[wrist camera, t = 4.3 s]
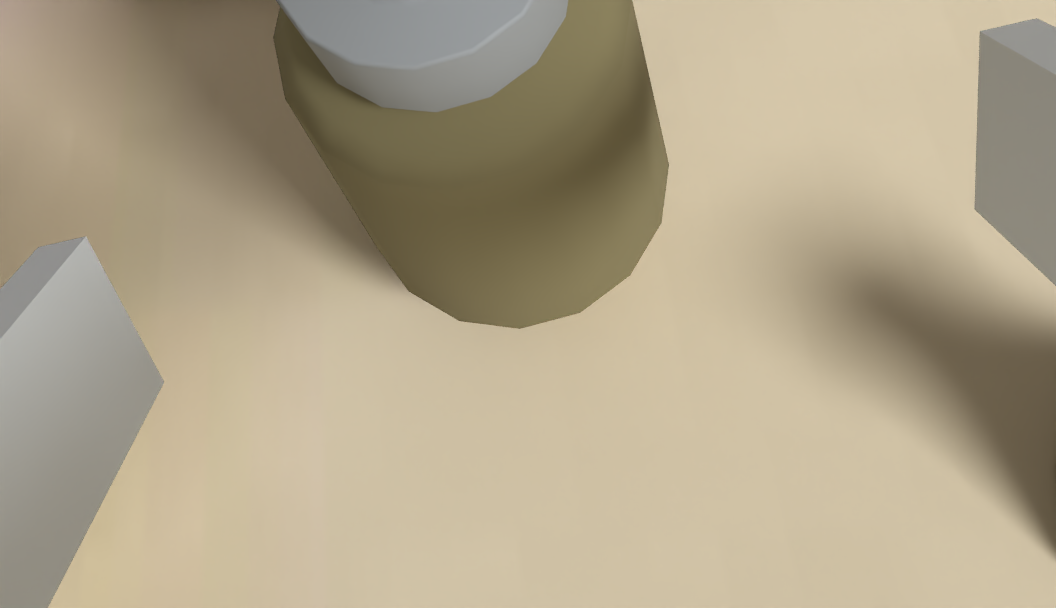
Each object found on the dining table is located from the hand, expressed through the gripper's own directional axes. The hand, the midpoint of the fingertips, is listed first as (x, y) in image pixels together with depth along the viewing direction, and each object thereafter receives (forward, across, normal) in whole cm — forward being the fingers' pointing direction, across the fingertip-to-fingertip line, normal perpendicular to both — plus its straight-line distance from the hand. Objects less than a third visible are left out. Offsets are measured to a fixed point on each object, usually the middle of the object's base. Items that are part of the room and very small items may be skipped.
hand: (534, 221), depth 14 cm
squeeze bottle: (+13, -1, -6) cm, 14 cm away
